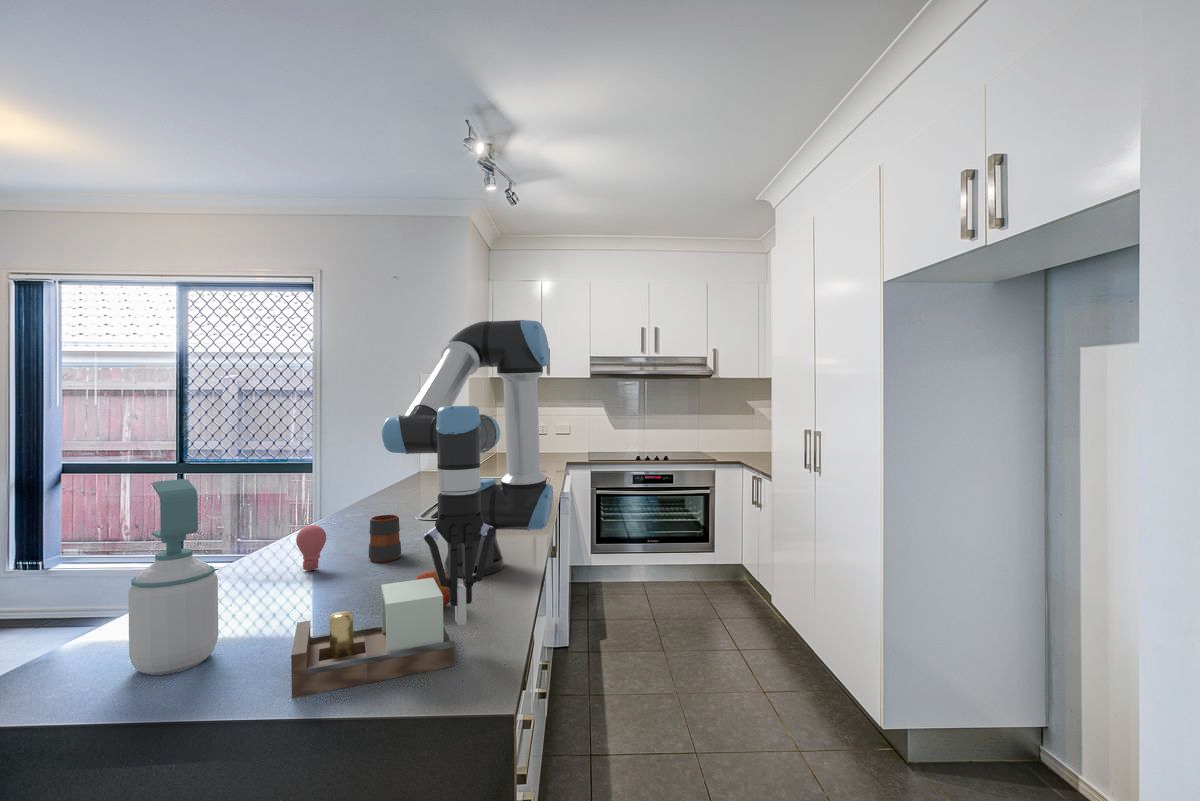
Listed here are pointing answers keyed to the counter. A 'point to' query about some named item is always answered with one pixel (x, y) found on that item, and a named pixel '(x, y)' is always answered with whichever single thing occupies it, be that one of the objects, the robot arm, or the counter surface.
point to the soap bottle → (173, 593)
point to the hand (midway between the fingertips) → (460, 622)
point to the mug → (384, 538)
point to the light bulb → (311, 545)
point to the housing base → (358, 660)
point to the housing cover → (412, 614)
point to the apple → (443, 589)
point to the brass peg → (341, 634)
